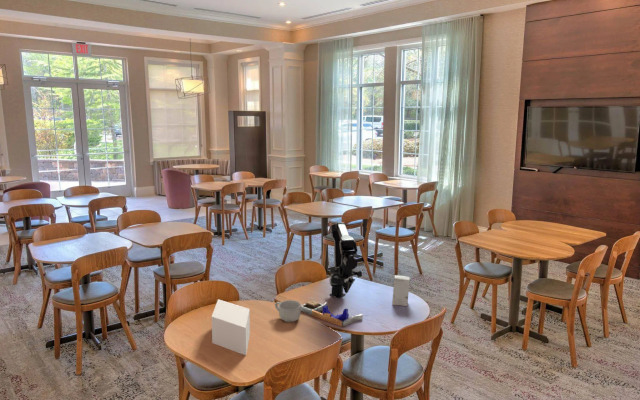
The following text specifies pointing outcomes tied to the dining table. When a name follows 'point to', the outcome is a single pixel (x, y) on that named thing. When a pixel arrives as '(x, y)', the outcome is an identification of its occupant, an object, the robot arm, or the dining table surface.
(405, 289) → the skincare box
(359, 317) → the rack
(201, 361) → the dining table surface
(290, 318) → the teacup
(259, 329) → the dining table surface
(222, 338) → the block
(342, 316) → the cable clip
